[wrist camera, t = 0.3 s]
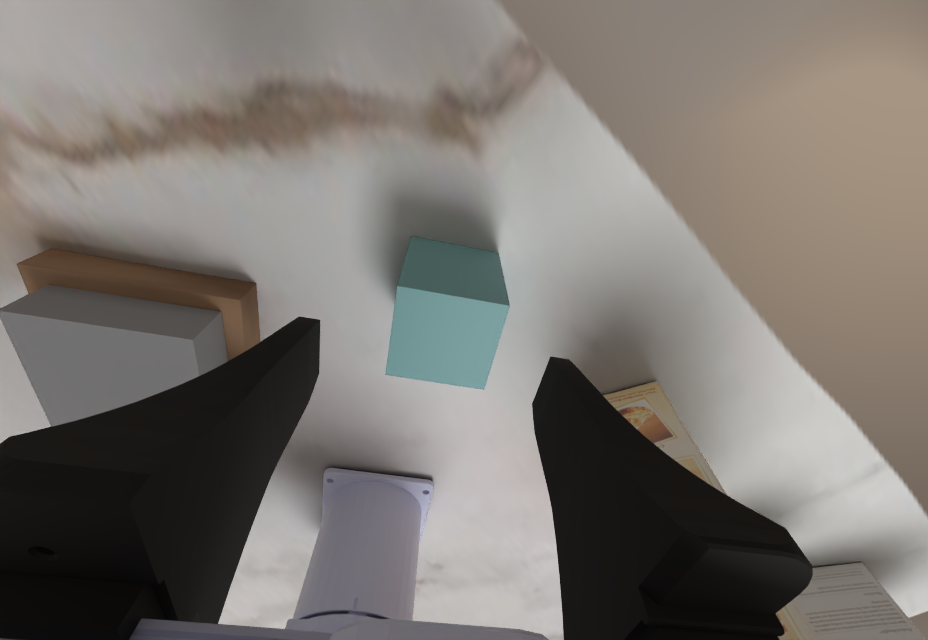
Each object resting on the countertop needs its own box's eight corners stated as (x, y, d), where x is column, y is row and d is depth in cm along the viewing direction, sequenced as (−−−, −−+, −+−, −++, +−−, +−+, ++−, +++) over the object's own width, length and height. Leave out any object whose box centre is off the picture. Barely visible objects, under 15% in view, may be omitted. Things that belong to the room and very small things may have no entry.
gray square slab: (236, 424, 24) (214, 458, 22) (94, 405, 24) (57, 438, 21) (221, 311, 20) (192, 339, 18) (47, 284, 19) (-4, 310, 17)
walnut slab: (269, 409, 27) (253, 438, 25) (109, 387, 26) (78, 416, 24) (261, 278, 22) (240, 300, 20) (61, 244, 21) (16, 263, 19)
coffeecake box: (548, 405, 26) (697, 970, 10) (660, 376, 25) (1042, 964, 9) (589, 529, 34) (713, 969, 17) (677, 511, 33) (900, 965, 16)
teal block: (479, 324, 23) (483, 389, 18) (400, 311, 23) (385, 374, 18) (498, 252, 21) (509, 305, 16) (411, 236, 20) (397, 285, 16)
